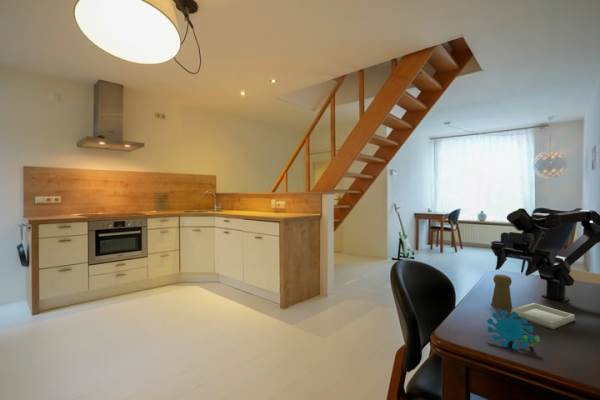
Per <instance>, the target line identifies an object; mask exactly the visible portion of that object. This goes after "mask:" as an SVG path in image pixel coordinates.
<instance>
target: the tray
mask: <svg viewBox="0 0 600 400" xmlns="http://www.w3.org/2000/svg"><path fill="white" fill-rule="evenodd" d="M510 312H511V313H510V316H511V315H512V312H516V313H517V314H518V317H517V318H519V319H522V318H523V317H525V318H526V319H527V321H528V322H529V323H532V324H533V323H534V324H537V325H539V326H542V327H545V328H548V329H552V330H556V329H557V328H560V327H562V326H564V325H567V324H569V323H571V322H574V321H575V318H576V317H575V316H576V314H574V313H570V312H567V311H566V312H565V311H564V310H559V309H556V308H552V307H548V306H547V305H546V306H545V305H542V304H538V303H536V302H532V303H529V304H525V305H521V306H519V307H518V306H517V307H515V308H512V309H511V310H510Z"/></svg>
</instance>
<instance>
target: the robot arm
mask: <svg viewBox="0 0 600 400" xmlns="http://www.w3.org/2000/svg"><path fill="white" fill-rule="evenodd" d="M506 220H507V221H508V222H509V223H510V225H512V226H513V228H514V229H516V231H519V232H515V231H514V232H513V231H510V232H508V236H507V242H509V243H510V247H512V248H508V247H507V246H506V244H505V243H498V242H493V243H492V244H491V245H490V249H491V251H492V252H493V254H494V256H495V257H496V270H500V269H501V268H502V267H503V266H504V264H505V263H506V261H507V258H508V257H509V255H513V256H519V257H521V258H527V259H531V262H530V264H529V265H528V266H527V268H526V270H525V273H524V274H525V276H526V277H528V276H530V275H532V274H534V273H535V272H538V275H539V278H540V280H544V281H546V282H545V294H541V297H542V298H546V299H550V300H554V301H558V302H561V303H563V302H566V301H569V300H571V299H570V297H568V296H566V295H567V287H570V286H573V285H574V283H575V279H574V278H573V277H572V276H571V274H570V273H571V267H572V265H573V264H574V263H576V262H577V261H578V260H579V259H580V258H581V257H582V256H584V255H585V254H586V253H588V251H590V250H591V249H592V248H594V246H595V245H597V244H598V243H600V214H599V213H598V212H597V211H596V210H591V209H590V210H589V209H579V210H575V211H573V210H572V211H569V212H568V211H566V212H559V213H544V212H543V213H542V212H535V213H532V215H530V214H529V213H528V212H527V210H526V209H525V208H520V207H519V208H518V209H516V210H514V211H512V212H510V213H509V214H507V215H506ZM574 223H580V226H581V227H582V228H583V229H582V235H580V236H579V237H578V238H577V239H576V240H574V241H573V242H572V243H571V244H570V245H568V247H566V248H565V249H564V250H563V251H561V252H560V253H559V254H558V255H556V256H554V255H553V253H552V251H550V250H546V249H545V250H544V249H538V243H539V242H540V240H542V239H547V235H546V233H545V231H544V230H543V229H545V230H553V229H556V228H560V227H561V226H562V225H565V224H574Z"/></svg>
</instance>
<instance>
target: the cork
mask: <svg viewBox="0 0 600 400" xmlns="http://www.w3.org/2000/svg"><path fill="white" fill-rule="evenodd" d="M493 283H494V287H493V294H492V299H491V307H493V308H496V309H498V310H501V311H502V310H504V311H511V309H513V305H512V296H511V289H510V288H511V287H510V286H511V285H512V278H511V277H510V276H509V275H506V274H494V275H493Z"/></svg>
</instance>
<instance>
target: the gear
mask: <svg viewBox="0 0 600 400" xmlns="http://www.w3.org/2000/svg"><path fill="white" fill-rule="evenodd" d="M500 312H501V315H502V317H501V318H499V314H498V312H492V317H493V318H494V319H495V320H496V321H497V322H494V320H493V318H492V317H491V318H488V319H487V321H486V322H487V324H489V325H488V326H487V332H488V333H490V334H491V333H496V334H497V335H496V334H492V335H491V338H492V339H493V341H494V342H497V341H499V340H501V339H502V340H503V339H505V340H503V341H501V342H500V345H501V346H502V347H503V348H504V349H506V348H507V347H508V344H509V343H510V342H514V343H513V344H512V346H511V348H512V350H516V351H519V349H520V347H519V345H518V341H521V343H522V344H521V345H522V347H523V348H528V347H529V346H530V347H533V346H534V345H535V344H536V343H540V341H541V338H540V336H539V335H533V334H530V333H533V332H534V327H533V326H532V325H523V324H528V323H529V321H527V319H526V318H525V317H523V318H522V319H521V318H519V319H517V318H518V314H517V313H516V312H512V315H511V314H510V316H509V317H507V316H508V310H502V309H501V311H500ZM521 323H522V324H521ZM490 325H491V326H490ZM492 326H493V327H494V328H495V329H494V328H493V327H492ZM525 330H527V331H528V332H529V333H528V332H526V331H525Z"/></svg>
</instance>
